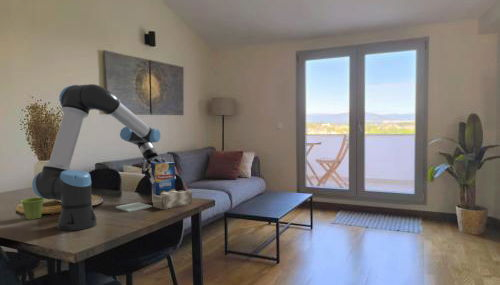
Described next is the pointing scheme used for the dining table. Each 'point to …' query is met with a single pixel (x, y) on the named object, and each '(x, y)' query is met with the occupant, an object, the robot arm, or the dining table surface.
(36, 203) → the plant pot
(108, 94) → the robot arm
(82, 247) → the dining table surface
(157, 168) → the blue food box
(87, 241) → the dining table surface
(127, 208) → the mat
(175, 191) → the offcut stack
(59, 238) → the dining table surface
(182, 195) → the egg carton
